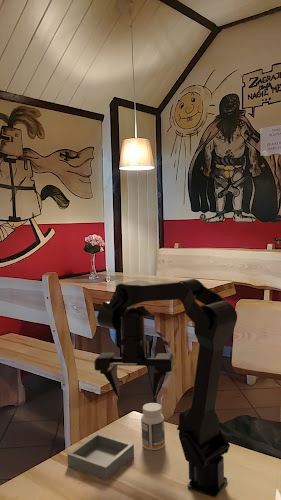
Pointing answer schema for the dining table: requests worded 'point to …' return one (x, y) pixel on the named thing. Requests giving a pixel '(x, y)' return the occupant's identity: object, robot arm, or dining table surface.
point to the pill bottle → (152, 427)
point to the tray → (101, 456)
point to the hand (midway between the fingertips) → (136, 396)
